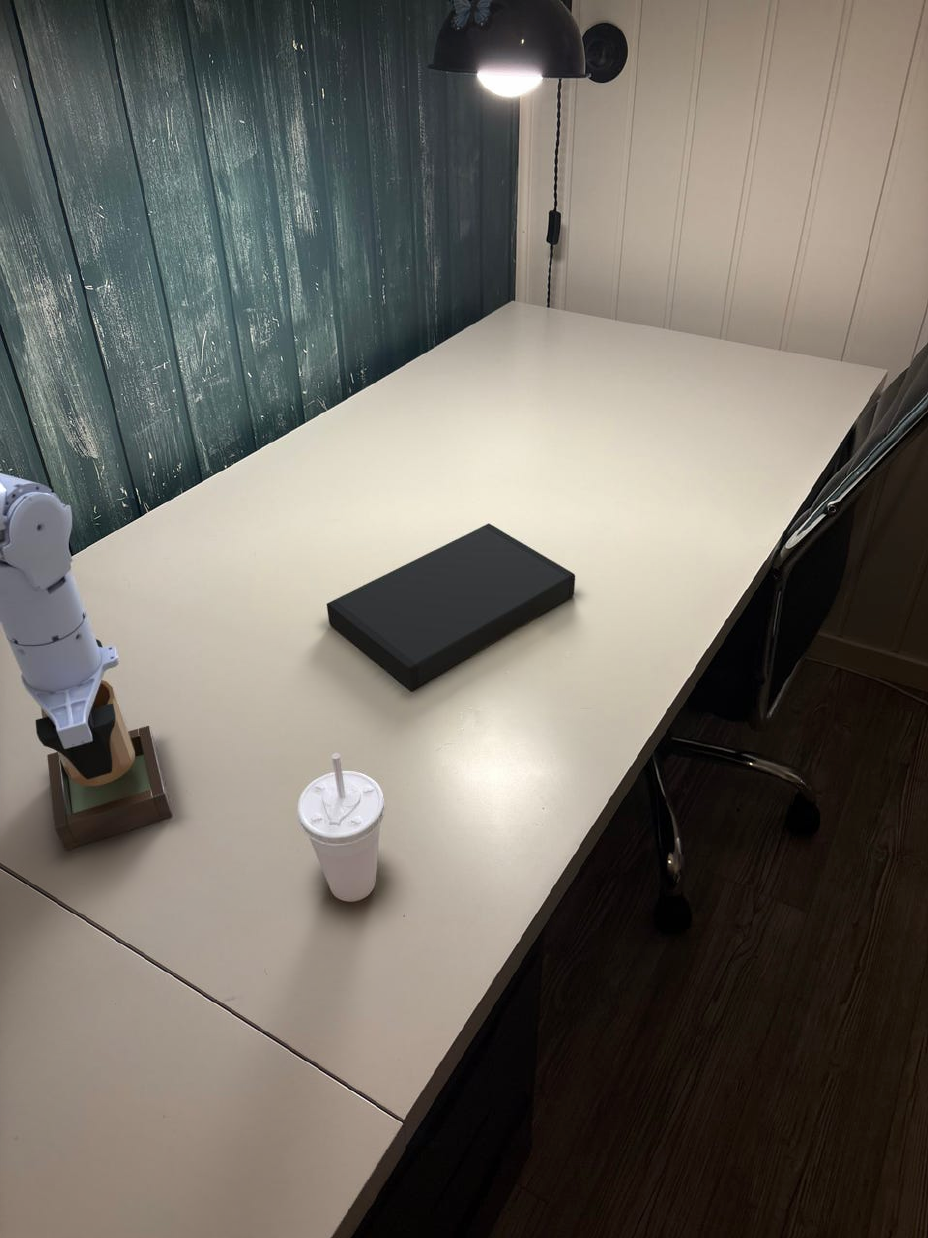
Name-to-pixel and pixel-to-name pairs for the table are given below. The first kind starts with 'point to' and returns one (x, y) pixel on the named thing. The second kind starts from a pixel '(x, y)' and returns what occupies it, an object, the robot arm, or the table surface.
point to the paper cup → (118, 742)
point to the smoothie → (344, 829)
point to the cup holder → (110, 797)
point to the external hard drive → (449, 604)
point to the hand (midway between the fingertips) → (94, 748)
